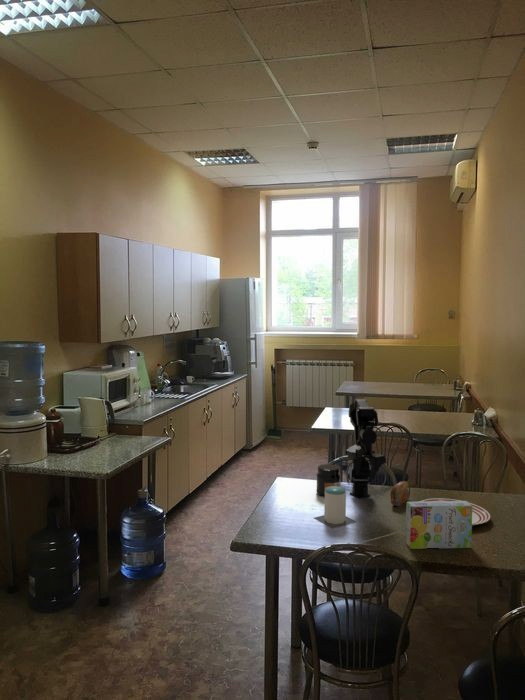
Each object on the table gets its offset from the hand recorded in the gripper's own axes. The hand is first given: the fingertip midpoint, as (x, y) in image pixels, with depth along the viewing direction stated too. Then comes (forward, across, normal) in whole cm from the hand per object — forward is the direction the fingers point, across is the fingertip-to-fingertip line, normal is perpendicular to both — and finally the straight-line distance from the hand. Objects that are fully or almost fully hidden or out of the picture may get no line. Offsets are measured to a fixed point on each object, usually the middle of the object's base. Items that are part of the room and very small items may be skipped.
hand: (365, 475), depth 229 cm
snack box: (+13, +41, -3) cm, 43 cm away
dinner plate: (+14, +26, +22) cm, 37 cm away
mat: (+13, +6, -20) cm, 25 cm away
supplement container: (+13, -20, -3) cm, 24 cm away
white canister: (+12, +6, -20) cm, 24 cm away
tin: (+13, +4, +16) cm, 21 cm away
